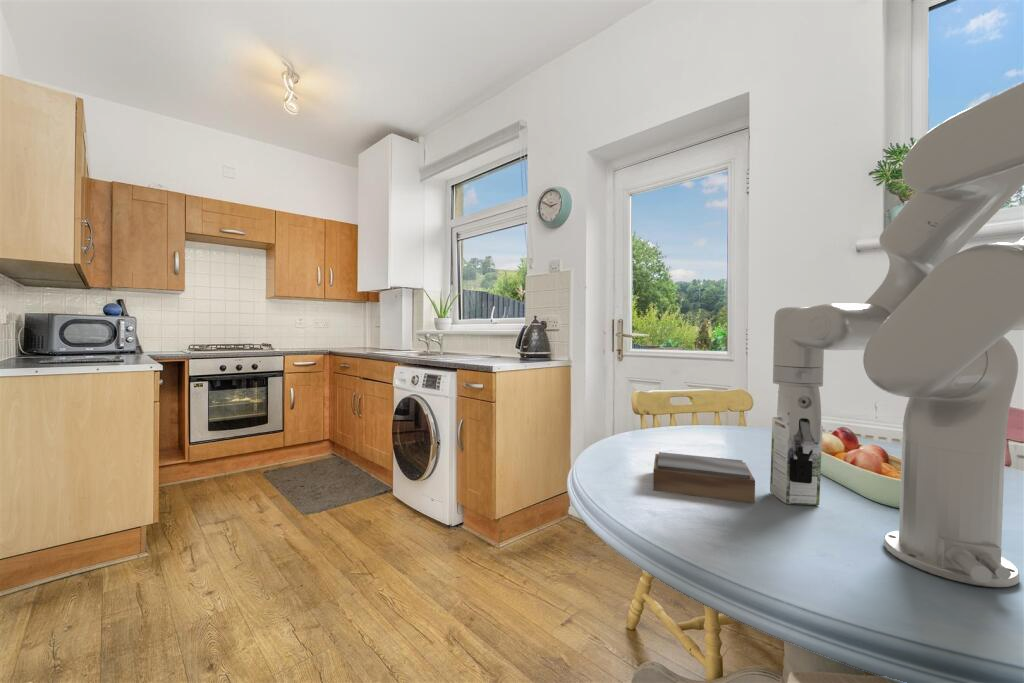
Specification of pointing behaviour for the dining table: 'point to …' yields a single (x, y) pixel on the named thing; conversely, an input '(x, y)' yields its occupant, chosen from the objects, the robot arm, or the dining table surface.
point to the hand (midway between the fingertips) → (794, 474)
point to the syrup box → (781, 468)
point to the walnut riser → (703, 477)
